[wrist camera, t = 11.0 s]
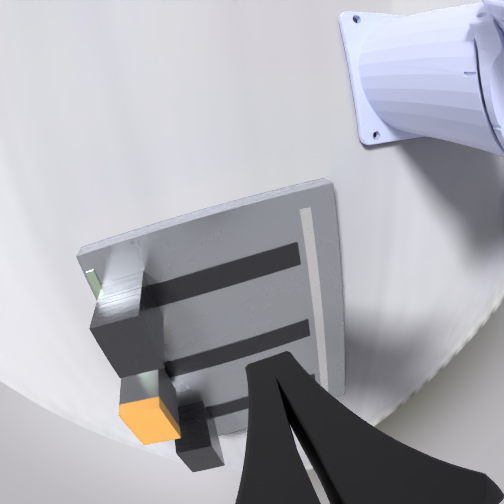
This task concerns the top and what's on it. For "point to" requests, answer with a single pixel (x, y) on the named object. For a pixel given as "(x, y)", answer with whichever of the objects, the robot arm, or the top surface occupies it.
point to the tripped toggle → (150, 406)
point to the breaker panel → (223, 304)
